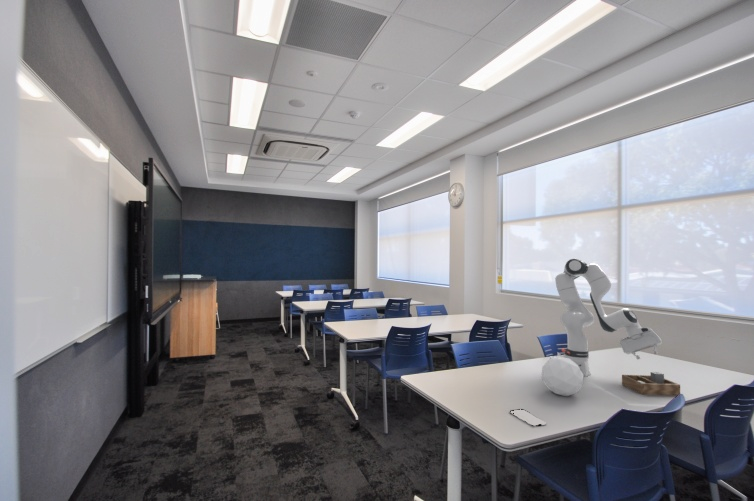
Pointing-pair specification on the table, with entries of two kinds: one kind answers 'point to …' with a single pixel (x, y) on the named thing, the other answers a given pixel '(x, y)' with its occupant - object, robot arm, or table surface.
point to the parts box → (650, 385)
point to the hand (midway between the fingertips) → (647, 356)
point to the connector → (657, 377)
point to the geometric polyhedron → (562, 376)
